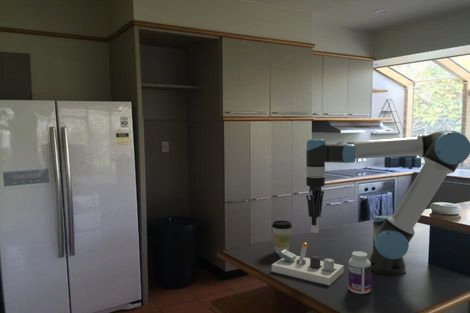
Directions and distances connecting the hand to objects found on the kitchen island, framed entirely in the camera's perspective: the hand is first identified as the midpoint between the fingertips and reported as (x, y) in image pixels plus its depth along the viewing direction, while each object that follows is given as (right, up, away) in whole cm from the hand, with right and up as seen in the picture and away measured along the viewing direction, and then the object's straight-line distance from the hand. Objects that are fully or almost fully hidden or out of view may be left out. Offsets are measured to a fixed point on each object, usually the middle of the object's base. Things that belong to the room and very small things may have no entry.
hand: (315, 232), depth 160 cm
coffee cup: (-10, -16, +29) cm, 34 cm away
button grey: (+5, -15, -2) cm, 16 cm away
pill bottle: (+14, -19, -15) cm, 28 cm away
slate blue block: (-10, -12, +9) cm, 18 cm away
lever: (-5, -14, +5) cm, 16 cm away
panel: (-2, -18, +4) cm, 18 cm away
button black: (0, -15, +1) cm, 15 cm away
